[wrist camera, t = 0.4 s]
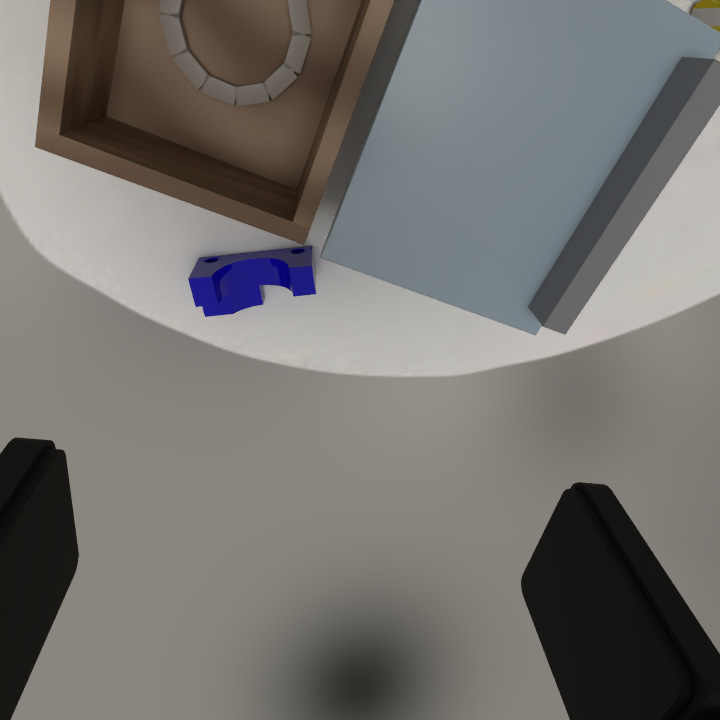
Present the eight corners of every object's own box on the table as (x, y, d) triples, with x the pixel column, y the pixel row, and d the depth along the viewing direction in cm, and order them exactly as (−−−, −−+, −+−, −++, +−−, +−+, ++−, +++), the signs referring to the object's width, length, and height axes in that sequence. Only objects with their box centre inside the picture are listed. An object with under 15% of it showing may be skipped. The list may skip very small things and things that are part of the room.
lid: (462, -113, 22) (484, -134, 20) (716, 36, 26) (764, 37, 23) (320, 252, 30) (321, 275, 27) (531, 329, 34) (550, 356, 31)
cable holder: (210, 301, 40) (201, 326, 36) (199, 256, 38) (188, 278, 35) (318, 290, 40) (318, 314, 37) (312, 244, 38) (312, 265, 35)
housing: (143, -241, 25) (85, -333, 19) (412, -90, 29) (440, -124, 22) (88, 124, 33) (34, 147, 27) (305, 207, 37) (304, 244, 30)
